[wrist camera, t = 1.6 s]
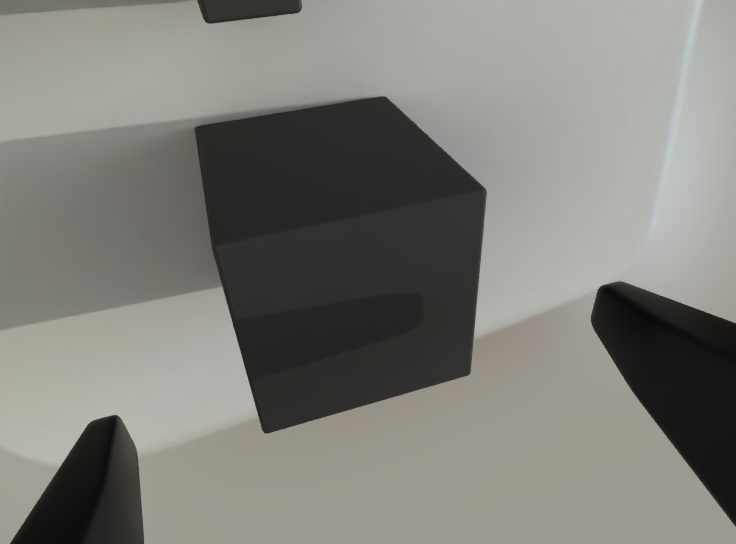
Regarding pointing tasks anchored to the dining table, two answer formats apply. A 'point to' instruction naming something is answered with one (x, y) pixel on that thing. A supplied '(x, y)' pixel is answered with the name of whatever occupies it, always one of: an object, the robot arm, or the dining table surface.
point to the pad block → (342, 255)
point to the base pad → (245, 9)
